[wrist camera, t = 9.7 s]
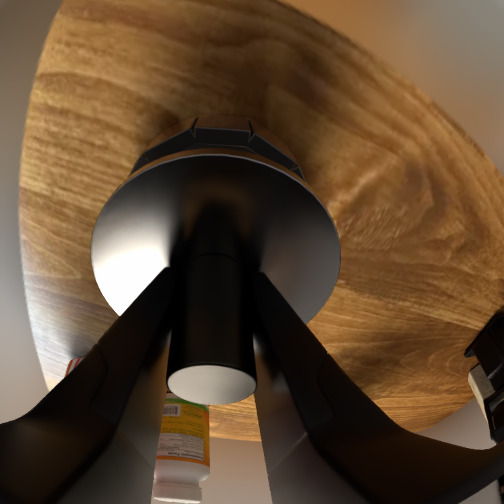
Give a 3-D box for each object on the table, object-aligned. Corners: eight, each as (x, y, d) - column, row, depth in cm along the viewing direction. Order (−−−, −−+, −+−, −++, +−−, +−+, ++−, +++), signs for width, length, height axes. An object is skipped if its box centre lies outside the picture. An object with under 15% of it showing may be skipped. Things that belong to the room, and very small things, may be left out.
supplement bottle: (192, 418, 27) (192, 505, 19) (143, 404, 25) (135, 496, 17) (220, 401, 25) (223, 502, 17) (164, 385, 23) (157, 495, 15)
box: (467, 380, 31) (492, 444, 22) (468, 370, 29) (498, 440, 20) (496, 361, 30) (524, 422, 21) (499, 349, 27) (531, 416, 18)
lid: (367, 166, 7) (451, 257, 4) (304, 344, 12) (322, 433, 9) (79, 146, 7) (-14, 230, 3) (117, 335, 11) (97, 425, 8)
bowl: (313, 124, 11) (332, 141, 9) (283, 263, 16) (291, 298, 14) (134, 111, 10) (112, 126, 8) (142, 256, 15) (130, 290, 13)
